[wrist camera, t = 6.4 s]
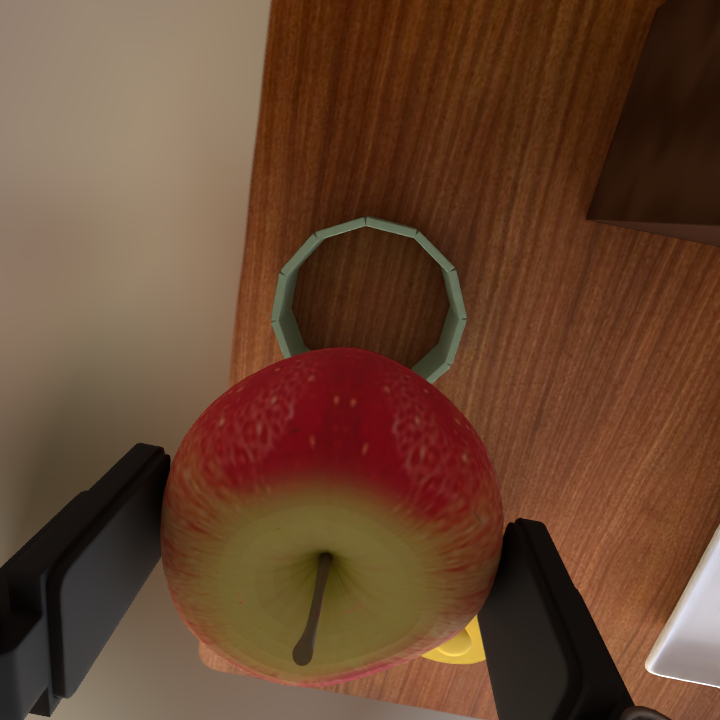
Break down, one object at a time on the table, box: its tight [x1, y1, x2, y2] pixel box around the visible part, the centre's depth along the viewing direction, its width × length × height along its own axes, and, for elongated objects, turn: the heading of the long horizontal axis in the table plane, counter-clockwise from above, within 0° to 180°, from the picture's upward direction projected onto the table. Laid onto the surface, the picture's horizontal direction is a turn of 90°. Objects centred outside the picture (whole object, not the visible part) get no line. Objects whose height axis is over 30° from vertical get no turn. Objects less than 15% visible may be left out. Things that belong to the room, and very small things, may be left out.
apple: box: [160, 347, 503, 687], centre depth 11 cm, size 8×8×10 cm
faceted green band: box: [271, 216, 467, 384], centre depth 36 cm, size 14×14×5 cm
